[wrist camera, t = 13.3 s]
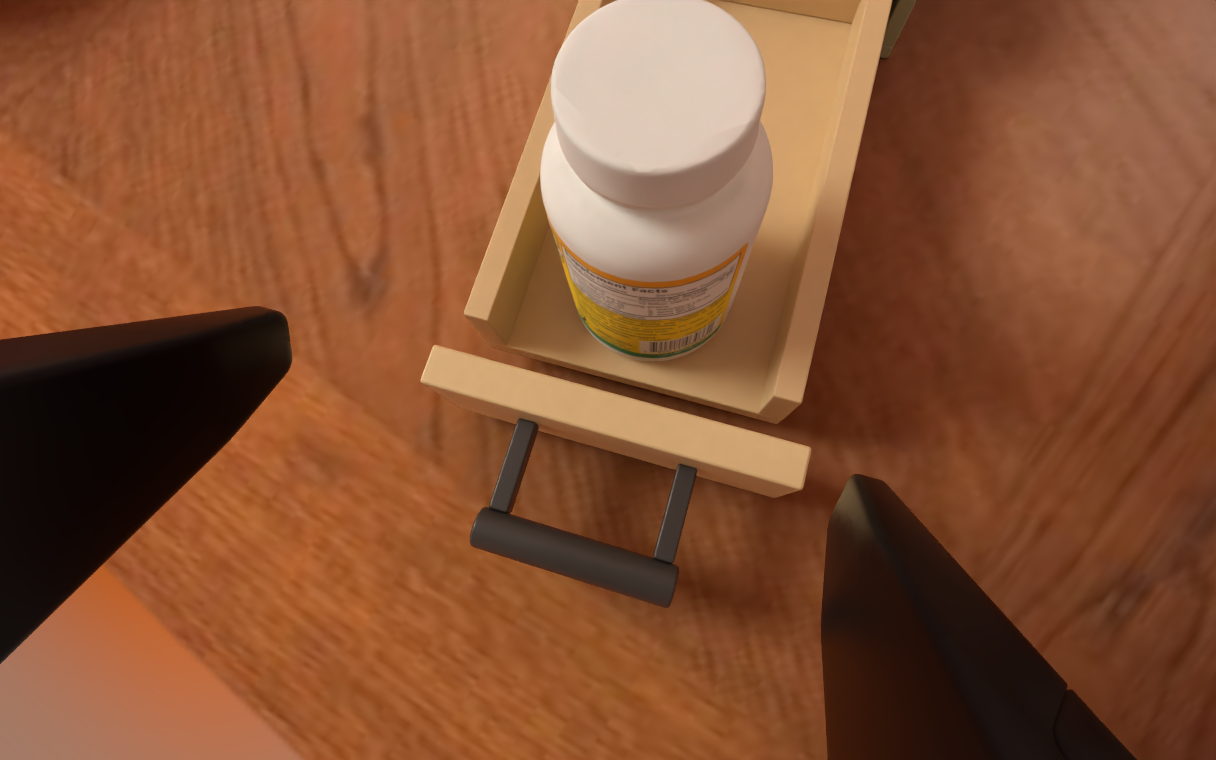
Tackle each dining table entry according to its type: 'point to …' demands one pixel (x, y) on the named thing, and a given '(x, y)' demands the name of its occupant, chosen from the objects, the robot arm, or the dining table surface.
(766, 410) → the drawer
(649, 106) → the supplement bottle
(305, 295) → the dining table surface
